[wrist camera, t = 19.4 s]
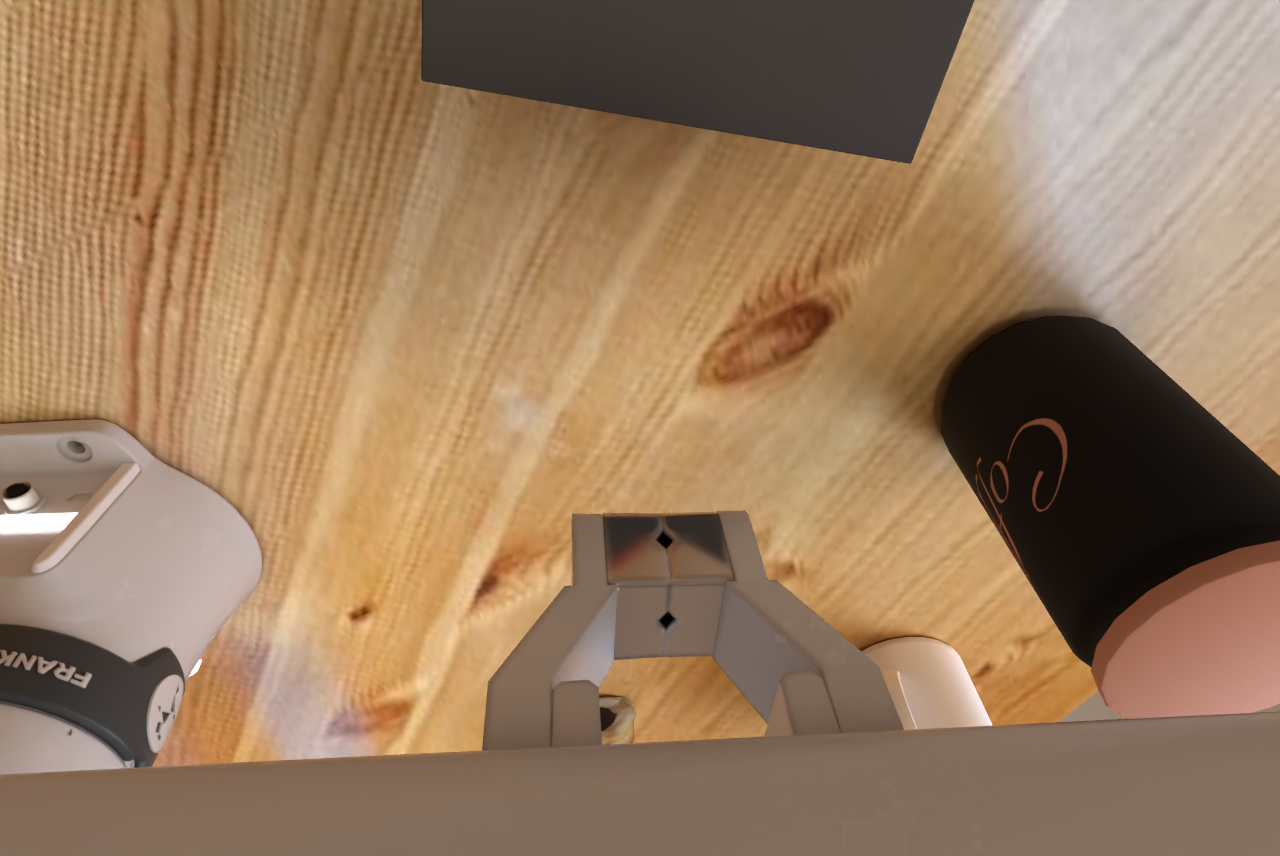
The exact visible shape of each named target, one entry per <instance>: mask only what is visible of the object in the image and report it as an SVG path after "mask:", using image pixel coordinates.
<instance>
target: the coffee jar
mask: <svg viewBox="0 0 1280 856" xmlns="http://www.w3.org/2000/svg"><path fill="white" fill-rule="evenodd" d="M941 434H942V436H943V439H944V441H945V443H946V445H947V448H948V450H949V452H950V454H951V455H952V457H953V459H954V460H955V462H956V463H957V465H958V467H959V468H960V470H961V471H962V473H963V475H964V476H965V478H966V480H967V481H968V483H969V484H970V486H971V488H972V489H973V491H974V493H975V494H976V496H977V497H978V499H979V501H980V502H981V504H982V506H983V507H984V509H985V510H986V512H987V514H988V515H989V517H990V519H991V520H992V522H993V523H994V525H995V527H996V528H997V530H998V532H999V533H1000V535H1001V536H1002V538H1003V540H1004V541H1005V543H1006V544H1007V546H1008V548H1009V549H1010V551H1011V553H1012V554H1013V556H1014V557H1015V559H1016V561H1017V562H1018V564H1019V566H1020V567H1021V569H1022V570H1023V572H1024V574H1025V575H1026V577H1027V579H1028V580H1029V582H1030V583H1031V585H1032V587H1033V588H1034V590H1035V592H1036V593H1037V595H1038V596H1039V598H1040V600H1041V601H1042V603H1043V604H1044V606H1045V608H1046V609H1047V611H1048V613H1049V614H1050V616H1051V617H1052V619H1053V621H1054V622H1055V624H1056V626H1057V627H1058V629H1059V630H1060V632H1061V634H1062V635H1063V637H1064V639H1065V640H1066V642H1067V643H1068V645H1069V647H1070V648H1071V650H1072V652H1073V653H1074V654H1075V655H1076V656H1077V657H1078V658H1079V659H1080V660H1082V661H1083V662H1085V663H1086V664H1087V665H1089V666H1090V667H1091V672H1092V675H1093V677H1094V680H1095V682H1096V685H1097V687H1098V690H1099V692H1100V694H1101V696H1102V698H1103V700H1104V702H1105V704H1106V706H1108V707H1109V708H1110V709H1112V710H1113V711H1114V712H1116V713H1117V714H1119V715H1120V716H1122V717H1123V718H1125V719H1138V718H1158V717H1178V716H1199V715H1219V714H1239V713H1254V712H1257V711H1260V710H1263V709H1266V708H1269V707H1272V706H1275V705H1277V704H1279V703H1280V476H1279V475H1278V474H1277V473H1276V472H1275V471H1274V470H1273V469H1271V468H1270V467H1269V466H1268V465H1267V464H1266V463H1265V462H1264V461H1263V460H1261V459H1260V458H1259V457H1258V456H1257V455H1256V454H1255V453H1254V452H1252V451H1251V450H1250V449H1249V448H1248V447H1247V446H1246V445H1245V444H1244V443H1242V442H1241V441H1240V440H1239V439H1238V438H1237V437H1236V436H1235V435H1234V434H1232V433H1231V432H1230V431H1229V430H1228V429H1227V428H1226V427H1225V426H1224V425H1222V424H1221V423H1220V422H1219V421H1218V420H1217V419H1216V418H1215V417H1214V416H1212V415H1211V414H1210V413H1209V412H1208V411H1207V410H1206V409H1205V408H1203V407H1202V406H1201V405H1200V404H1199V403H1198V402H1197V401H1196V400H1195V399H1193V398H1192V397H1191V396H1190V395H1189V394H1188V393H1187V392H1186V391H1185V390H1183V389H1182V388H1181V387H1180V386H1179V385H1178V384H1177V383H1176V382H1175V381H1173V380H1172V379H1171V378H1170V377H1169V376H1168V375H1167V374H1166V373H1165V372H1163V371H1162V370H1161V369H1160V368H1159V367H1158V366H1157V365H1156V364H1155V363H1153V362H1152V361H1151V360H1150V359H1149V358H1148V357H1147V356H1146V355H1144V354H1143V353H1142V352H1141V351H1140V350H1139V349H1138V348H1137V347H1136V346H1134V345H1133V344H1132V343H1131V342H1130V341H1129V340H1128V339H1127V338H1126V337H1124V336H1123V335H1122V334H1121V333H1120V332H1119V331H1118V330H1117V329H1115V328H1113V327H1111V326H1108V325H1106V324H1104V323H1101V322H1099V321H1096V320H1094V319H1092V318H1086V317H1070V316H1054V317H1048V316H1047V317H1043V318H1038V319H1034V320H1029V321H1025V322H1020V323H1018V324H1015V325H1013V326H1011V327H1009V328H1007V329H1005V330H1003V331H1001V332H999V333H997V334H995V335H993V336H991V337H990V338H989V339H988V340H986V341H985V342H984V343H983V344H981V345H980V346H979V347H978V348H976V349H975V350H974V351H972V352H971V353H970V354H969V355H968V357H967V358H966V359H965V360H964V362H963V363H962V364H961V366H960V367H959V368H958V369H957V371H956V372H955V373H954V375H953V377H952V379H951V382H950V384H949V387H948V389H947V392H946V394H945V397H944V400H943V403H942V407H941Z"/></svg>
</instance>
